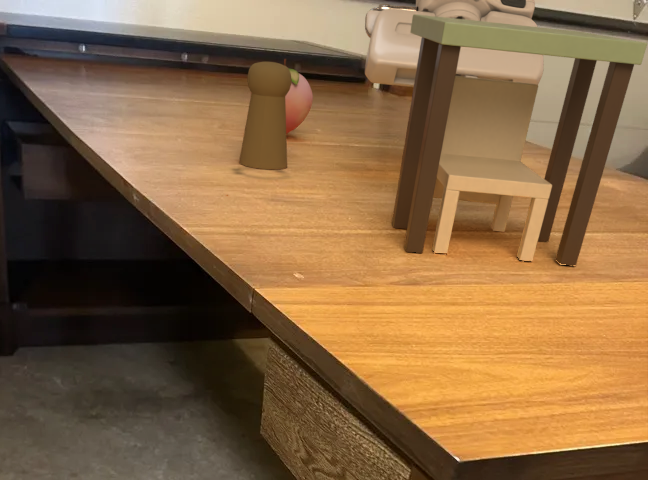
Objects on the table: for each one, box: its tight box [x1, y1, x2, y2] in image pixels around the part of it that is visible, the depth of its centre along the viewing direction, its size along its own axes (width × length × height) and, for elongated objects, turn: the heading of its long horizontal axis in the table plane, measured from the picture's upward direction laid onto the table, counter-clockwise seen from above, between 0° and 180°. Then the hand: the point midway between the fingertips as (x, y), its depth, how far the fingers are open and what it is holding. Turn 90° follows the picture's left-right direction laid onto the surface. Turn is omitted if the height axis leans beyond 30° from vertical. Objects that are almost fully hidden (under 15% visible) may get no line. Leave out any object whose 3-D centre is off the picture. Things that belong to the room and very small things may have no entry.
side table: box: [391, 14, 648, 266], centre depth 74 cm, size 16×16×18 cm
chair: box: [428, 76, 552, 262], centre depth 75 cm, size 9×12×13 cm
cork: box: [238, 61, 292, 170], centre depth 98 cm, size 6×6×11 cm
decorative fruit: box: [283, 58, 314, 135], centre depth 117 cm, size 9×8×10 cm
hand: (452, 117), depth 93 cm, fingers closed
